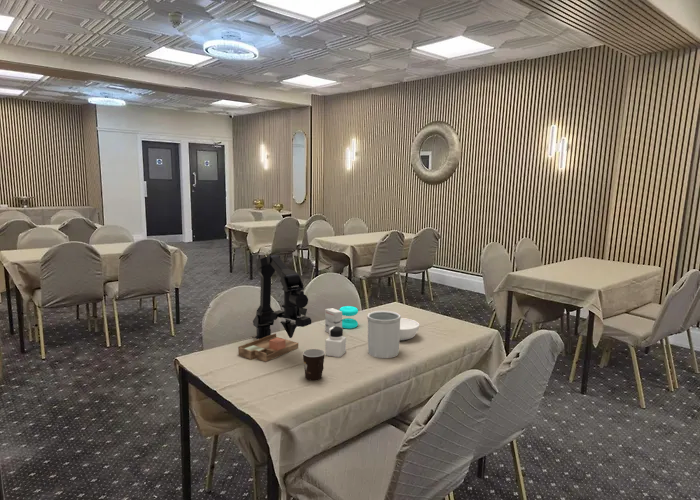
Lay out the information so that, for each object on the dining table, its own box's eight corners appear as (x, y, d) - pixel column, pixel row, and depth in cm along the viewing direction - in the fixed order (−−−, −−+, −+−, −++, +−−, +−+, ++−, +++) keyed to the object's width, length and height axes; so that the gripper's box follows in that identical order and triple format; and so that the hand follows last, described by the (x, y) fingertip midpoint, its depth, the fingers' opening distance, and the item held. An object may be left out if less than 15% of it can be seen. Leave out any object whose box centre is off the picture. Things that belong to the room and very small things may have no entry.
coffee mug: (302, 372, 184) (302, 348, 183) (324, 372, 185) (324, 348, 183) (302, 385, 173) (302, 360, 171) (325, 385, 173) (325, 359, 172)
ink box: (342, 334, 231) (343, 311, 229) (334, 335, 228) (335, 312, 226) (332, 329, 238) (332, 307, 236) (324, 331, 235) (324, 308, 233)
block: (269, 348, 204) (269, 340, 203) (277, 344, 208) (277, 337, 207) (277, 350, 201) (277, 342, 200) (285, 347, 205) (285, 339, 204)
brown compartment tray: (238, 355, 201) (238, 346, 200) (275, 341, 219) (275, 333, 219) (262, 363, 193) (262, 354, 192) (298, 348, 211) (298, 339, 210)
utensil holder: (361, 356, 203) (362, 317, 200) (372, 345, 216) (373, 308, 214) (394, 361, 198) (395, 321, 195) (402, 349, 211) (404, 312, 209)
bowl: (376, 340, 223) (377, 326, 222) (388, 329, 240) (388, 316, 239) (413, 346, 216) (414, 331, 215) (422, 334, 233) (423, 320, 232)
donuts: (359, 306, 246) (356, 311, 236) (359, 324, 247) (355, 330, 238) (341, 304, 248) (337, 309, 238) (341, 322, 249) (336, 328, 240)
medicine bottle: (345, 352, 207) (346, 326, 205) (340, 357, 200) (340, 331, 199) (331, 349, 209) (331, 324, 208) (325, 355, 203) (325, 329, 201)
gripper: (319, 302, 197) (319, 337, 199) (287, 295, 208) (287, 328, 210) (302, 307, 188) (302, 344, 190) (269, 300, 199) (270, 334, 201)
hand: (290, 337), depth 198 cm, fingers closed
